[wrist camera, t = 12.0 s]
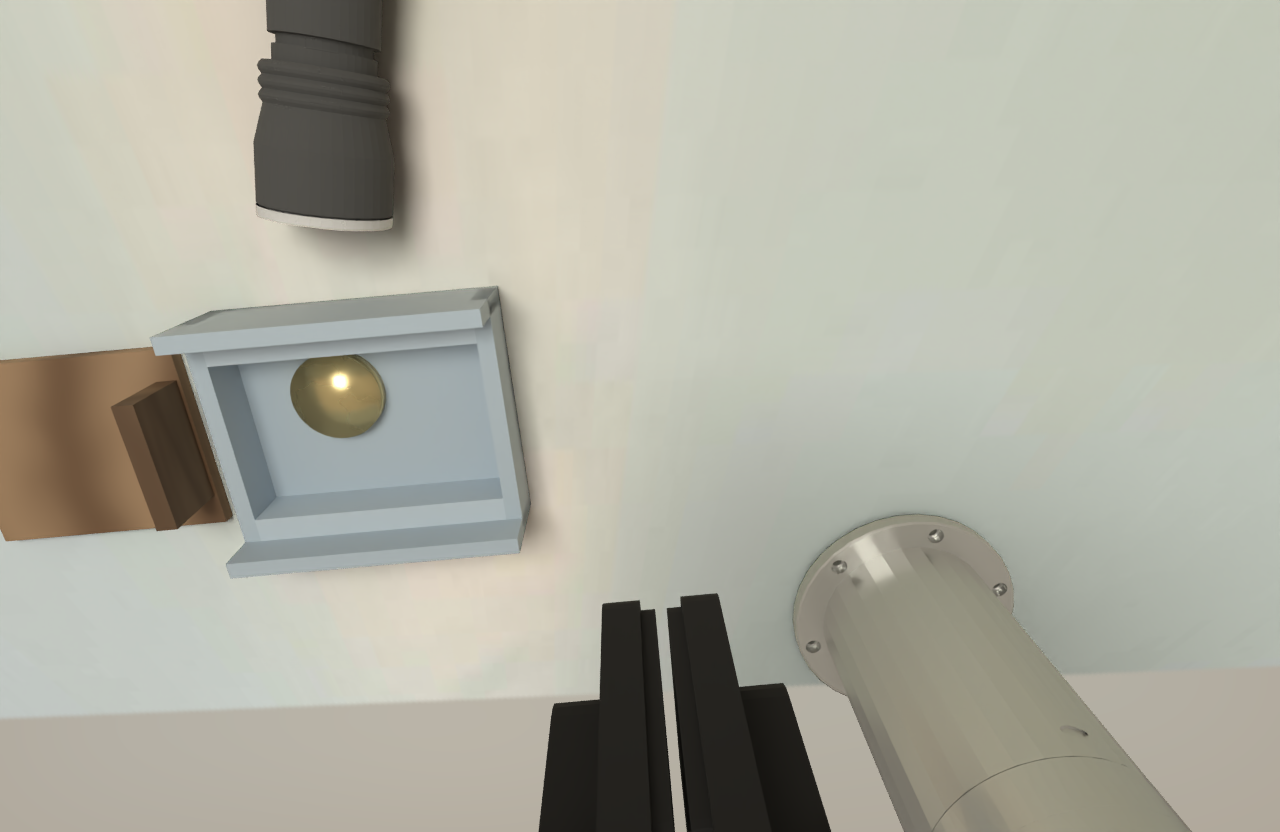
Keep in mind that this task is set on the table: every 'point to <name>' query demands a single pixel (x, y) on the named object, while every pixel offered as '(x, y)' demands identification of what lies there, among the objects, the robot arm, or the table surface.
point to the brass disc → (338, 395)
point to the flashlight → (324, 118)
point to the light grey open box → (381, 456)
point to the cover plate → (103, 446)
